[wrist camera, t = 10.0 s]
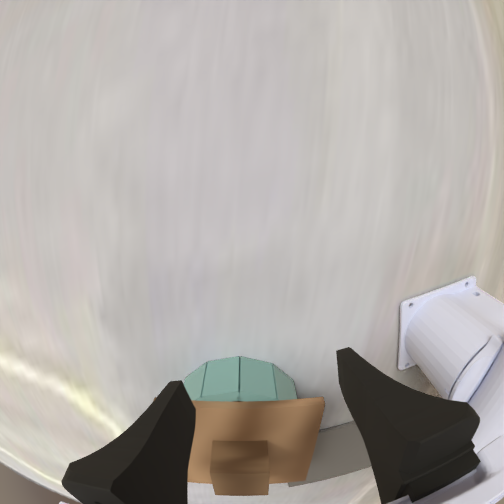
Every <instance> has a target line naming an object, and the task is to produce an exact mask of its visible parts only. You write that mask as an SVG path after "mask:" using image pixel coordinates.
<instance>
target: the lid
mask: <svg viewBox="0 0 504 504" xmlns="http://www.w3.org/2000/svg"><path fill="white" fill-rule="evenodd" d="M155 399H156V397H155V398H154V400H155ZM191 401H192V402H193V404H194V406H195V408H196V424H195V432H194V438H193V443H192V449H191V454H190V460H189V466H188V482H195V483H209V484H213V488H214V491H215V495H230V496H252V495H268V490H269V484H273V483H287V482H298V481H305V480H306V477H307V474H308V470H309V467H310V463H311V460H312V456H313V452H314V449H315V445H316V441H317V437H318V433H319V429H320V424H321V420H322V416H323V411H324V407H325V401H324V398H323V397H315V398H305V399H292V400H276V401H243V402H228V401H195V400H191Z"/></svg>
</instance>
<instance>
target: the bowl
mask: <svg viewBox="0 0 504 504" xmlns="http://www.w3.org/2000/svg"><path fill="white" fill-rule="evenodd" d="M184 386H185V388H186V391H187V393H188V395H189V397H190V399H191V400H195V401H228V402H243V401H276V400H292V399H297V395H296V390H295V386H294V381H293V380H292V379H291V378H290V377H289V376H287V375H286V374H285V373H284V372H282V371H281V370H280V369H279V368H278V367H276V366H275V365H274V364H272V363H268V362H264V361H259V360H255V359H250V358H246V357H242V356H241V357H240V358H239V356H238V357H232V358H226V359H220V360H214V361H208V363H207V362H206V363H204V364H203V365H202V366H200V367H199V368H198V369H196V370H195V371H194V372H192V373H191V374H190V375H188V376H187V377H186V378H185V382H184Z"/></svg>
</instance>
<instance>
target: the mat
mask: <svg viewBox="0 0 504 504" xmlns="http://www.w3.org/2000/svg"><path fill="white" fill-rule="evenodd" d="M370 466H372V465H371V462H370V459H369V455H368V452H367V449H366V446H365V443H364V440H363V438H362V436H361V433H360V431H359V429H358V427H357V425H356V423H355V421H353V422H349V423H346V424H342V425H339V426H335V427H332V428H328V429H324V430H320V431H319V433H318V437H317V441H316V445H315V449H314V452H313V456H312V460H311V463H310V467H309V470H308V474H307V477H306V480H305V481H298V482H288V485H289V487H292V486H297V485H303V484H307V483H312V482H317V481H321V480H325V479H329V478H333V477H337V476H341V475H344V474H348V473H351V472H355V471H358V470H361V469H364V468H367V467H370Z"/></svg>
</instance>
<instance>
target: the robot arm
mask: <svg viewBox="0 0 504 504" xmlns="http://www.w3.org/2000/svg"><path fill="white" fill-rule="evenodd" d="M410 303H411V305H410V306H409V304H410ZM336 352H337V364H338V377H339V384H340V388H341V391H342V394H343V397H344V400H345V402H346V404H347V406H348V408H349V410H350V412H351V415H352V417H353V419H354V421H355V423H356V425H357V427H358V429H359V431H360V433H361V436H362V438H363V440H364V443H365V446H366V449H367V452H368V455H369V459H370V462H371V465H372V469H373V472H374V476H375V479H376V483H377V487H378V491H379V495H380V499H381V504H495V503H496V502H498V501H499V500H500V499H502V498H503V497H504V303H502V302H500V301H499V300H497V299H496V298H494V297H493V296H491V295H490V294H488V293H486V292H485V291H483V290H482V289H480V288H478V287H477V286H476V277H474V276H471V277H468V278H466V279H463V280H461V281H458V282H455V283H453V284H450V285H448V286H445V287H442V288H439V289H437V290H434V291H431V292H428V293H426V294H423V295H420V296H417V297H414V298H411V299H408V300H405V301H403V302H402V303H401V305H400V332H399V352H398V366H397V367H398V369H399V370H404V369H407V368H409V367H412V366H414V365H418V366H419V368H420V369H421V370H422V372H423V373H424V374H425V376H426V377H427V378H428V379H429V381H430V382H431V383H432V385H433V386H434V387H435V389H436V390H437V391H438V393H439V394H440V395H441V397H442V398H438V397H434V396H431V395H427V394H425V393H422V392H419V391H416V390H414V389H411V388H409V387H407V386H405V385H403V384H401V383H399V382H397V381H395V380H393V379H392V378H390V377H388V376H387V375H385V374H384V373H382V372H381V371H379V370H378V369H376V368H375V367H374V366H372V365H371V364H370V363H368V362H367V361H366V360H364V359H363V358H362V357H361V356H360V355H358V354H357V353H356V352H355V351H354V350H353V349H351V348H350V347H348V348H345V349H341V350H338V351H336ZM195 424H196V408H195V406H194V404H193V402H192V401H191V399H190V397H189V395H188V393H187V391H186V388H185V386H184V384H183V382H182V380H181V381H171V382H169V383H168V384H167V386H166V387H165V388H164V389H163V390H162V392H161V393H160V394H159V395H158V397H157V398H156V399H155V400H154V401H153V403H152V404H151V405H150V406H149V407H148V409H147V410H146V411H145V412H144V413H143V414H142V415H141V416H140V417H139V418H138V419H137V420H136V421H135V422H134V423H133V424H132V425H131V426H130V427H129V428H128V429H127V430H126V431H125V432H123V433H122V434H121V435H120V436H119V437H117V438H116V439H114V440H113V441H112V442H110V443H109V444H107V445H106V446H104V447H103V448H101V449H99V450H98V451H96V452H94V453H92V454H90V455H88V456H86V457H84V458H82V459H79V460H77V461H74V462H72V463H70V464H69V466H68V468H67V471H66V473H65V475H64V477H63V479H62V485H63V487H64V488H65V489H66V490H67V491H68V492H69V493H70V494H71V495H73V496H74V497H75V498H76V499H78V500H79V501H80V502H81V503H83V504H188V503H187V482H188V466H189V460H190V454H191V449H192V443H193V438H194V432H195ZM59 504H68V503H65V502H62V501H61V502H60V503H59Z"/></svg>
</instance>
